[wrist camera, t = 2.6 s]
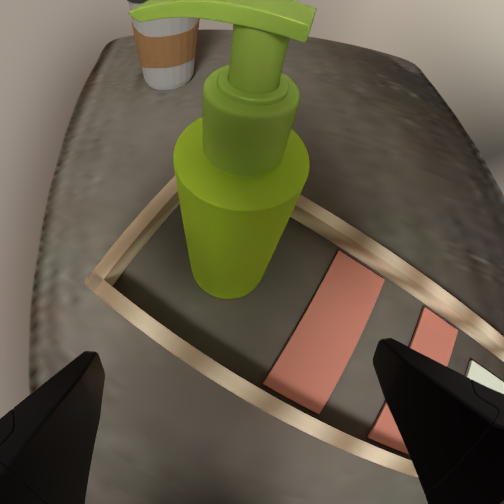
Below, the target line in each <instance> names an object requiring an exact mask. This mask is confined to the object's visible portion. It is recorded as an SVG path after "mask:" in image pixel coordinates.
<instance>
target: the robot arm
mask: <svg viewBox="0 0 504 504" xmlns="http://www.w3.org/2000/svg"><path fill="white" fill-rule="evenodd" d="M373 365H374V368H375V371H376V374H377V377H378V380H379V383H380V386H381V389H382V392H383V395H384V398H385V400H386V403H387V405H388V407H389V409H390V412H391V414H392V416H393V418H394V421H395V423H396V425H397V427H398V430H399V432H400V434H401V437H402V439H403V441H404V444H405V446H406V448H407V451H408V453H409V456H410V458H411V460H412V463H413V465H414V468H415V470H416V473H417V475H418V478H419V480H420V483H421V485H422V488H423V490H424V493H425V495H426V499H427V501H428V504H504V394H502V393H500V392H498V391H495V390H493V389H490V388H488V387H486V386H484V385H482V384H480V383H478V382H476V381H474V380H472V379H471V380H470V378H468V377H466V376H464V375H462V374H460V373H458V372H456V371H454V370H452V369H450V368H448V367H446V366H444V365H443V364H441V363H439V362H437V361H435V360H433V359H431V358H429V357H427V356H425V355H423V354H421V353H419V352H417V351H415V350H413V349H411V348H409V347H408V346H406V345H404V344H402V343H400V342H398V341H396V340H394V339H392V338H386V339H381V340H380V341H379V342H378V345H377V348H376V351H375V354H374V357H373ZM104 380H105V373H104V369H103V366H102V363H101V360H100V357H99V355H98V353H97V352H91V351H85V352H83V353H82V354H81V355H79V356H78V357H77V358H76V359H74V360H73V361H72V362H70V363H69V364H68V365H67V366H65V367H64V368H63V369H62V370H60V371H59V372H58V373H57V374H55V375H54V376H53V377H52V378H50V379H49V380H48V381H46V382H45V383H44V384H43V385H41V386H40V387H39V388H38V389H37V390H35V391H34V392H33V393H32V394H30V395H29V396H28V397H27V398H25V399H24V400H23V401H22V402H20V403H19V404H18V405H17V406H15V407H14V410H13V409H12V410H10V411H9V412H8V413H7V414H6V415H5V416H3V417H2V418H1V419H0V504H85V497H86V490H87V483H88V477H89V471H90V465H91V459H92V454H93V449H94V444H95V439H96V434H97V429H98V425H99V420H100V413H101V403H102V395H103V387H104Z"/></svg>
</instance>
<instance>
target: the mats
mask: <svg viewBox="0 0 504 504" xmlns="http://www.w3.org/2000/svg"><path fill="white" fill-rule="evenodd" d="M384 281H385V280H384V279H383V278H381V277H379V276H378V275H376V274H375V273H373V272H372V271H370V270H369V269H367V268H366V267H364V266H363V265H361V264H360V263H358V262H356V261H355V260H353V259H352V258H350V257H349V256H347V255H345V254H344V253H342V252H341V251H338V252H337V254H336V256H335V258H334V260H333V262H332V264H331V266H330V268H329V269H328V271H327V273H326V275H325V277H324V279H323V281H322V283H321V285H320V286H319V288H318V290H317V292H316V294H315V296H314V297H313V299H312V301H311V303H310V305H309V306H308V308H307V310H306V312H305V314H304V315H303V317H302V319H301V321H300V322H299V324H298V326H297V328H296V329H295V331H294V333H293V334H292V336H291V338H290V340H289V341H288V343H287V345H286V346H285V348H284V350H283V351H282V353H281V355H280V356H279V358H278V360H277V361H276V363H275V365H274V366H273V368H272V369H271V371H270V373H269V374H268V376H267V377H266V379H265V381H264V382H263V384H264V385H266V386H267V387H269V388H271V389H273V390H274V391H276V392H278V393H280V394H281V395H283V396H285V397H287V398H289V399H291V400H292V401H294V402H296V403H298V404H300V405H302V406H304V407H305V408H307V409H309V410H311V411H313V412H315V413H317V414H320V412H321V411H322V409H323V407H324V405H325V404H326V402H327V400H328V398H329V397H330V395H331V393H332V391H333V389H334V388H335V386H336V384H337V382H338V380H339V378H340V376H341V374H342V373H343V371H344V369H345V367H346V365H347V363H348V361H349V359H350V357H351V355H352V353H353V351H354V349H355V347H356V345H357V343H358V340H359V338H360V336H361V334H362V332H363V330H364V328H365V325H366V323H367V321H368V319H369V316H370V314H371V312H372V310H373V307H374V305H375V303H376V300H377V298H378V295H379V293H380V291H381V288H382V286H383V283H384ZM457 333H458V330H457V329H455V328H454V327H452V326H451V325H450V324H448V323H447V322H445V321H444V320H443V319H441V318H440V317H438V316H437V315H435V314H434V313H433V312H431V311H430V310H428V309H427V308H425V307H424V308H423V309H422V312H421V315H420V318H419V321H418V324H417V327H416V330H415V332H414V335H413V338H412V341H411V343H410V346H409V348H411V349H413V350H415V351H417V352H419V353H421V354H423V355H425V356H427V357H429V358H431V359H433V360H435V361H437V362H439V363H441V364H443V365H444V366H446V367H447V365H448V362H449V359H450V356H451V353H452V350H453V346H454V343H455V340H456V336H457ZM367 438H370V439H372V440H374V441H376V442H379V443H381V444H384V445H386V446H388V447H391V448H393V449H396V450H398V451H401V452H403V453H406V454H409V453H408V451H407V448H406V446H405V444H404V441H403V439H402V437H401V434H400V432H399V430H398V427H397V425H396V423H395V421H394V418H393V416H392V414H391V412H390V409H389V407H388V405H387V403H386V401H385V403H384V405H383V407H382V409H381V411H380V413H379V415H378V417H377V419H376V421H375V423H374V425H373V427H372V429H371V431H370V432H369V434H368V436H367Z"/></svg>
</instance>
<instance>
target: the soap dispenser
mask: <svg viewBox="0 0 504 504" xmlns="http://www.w3.org/2000/svg"><path fill="white" fill-rule="evenodd" d="M315 13H316V8H314V7H312V6H309V5H306V4H303V3H300V2H297V1H294V0H147V1H146V2H144V3H143V4H141V5H139V6H138V7H136V8H135V9H133V10H131V11H130V12H129V14H130V15H131V16H132V17H133V18H134V19H135V20H137V21H138V22H145V21H151V20H156V19H164V18H181V17H182V18H200V19H208V20H215V21H221V22H226V23H231V24H233V34H232V44H231V54H230V65H228V66H224V67H222V68H219V69H217V70H215V71H214V72H213V73H211V74H210V75H209V76H208V77H207V78H206V80H205V82H204V86H203V117H201V118H199V119H197V120H196V121H194V122H193V123H191V124H190V125H189V126H188V127H187V128H186V129H185V130H184V131H183V132H182V134H181V135H180V137H179V138H178V140H177V142H176V145H175V148H174V154H173V161H174V169H175V176H176V183H177V189H178V196H179V202H180V208H181V214H182V220H183V226H184V232H185V238H186V243H187V249H188V254H189V259H190V265H191V270H192V274H193V277H194V279H195V281H196V282H197V284H198V285H199V286H200V287H201V288H202V289H203V290H204V291H205V292H207V293H208V294H210V295H212V296H214V297H217V298H221V299H235V298H240V297H242V296H245V295H247V294H248V293H250V292H251V291H253V290H254V289H255V288H256V287H257V285H258V284H259V283H260V281H261V279H262V277H263V275H264V272H265V270H266V268H267V266H268V264H269V262H270V260H271V257H272V255H273V253H274V251H275V249H276V246H277V244H278V242H279V240H280V238H281V236H282V233H283V231H284V229H285V227H286V225H287V222H288V220H289V218H290V216H291V214H292V211H293V209H294V207H295V205H296V202H297V200H298V198H299V196H300V194H301V191H302V189H303V187H304V185H305V182H306V180H307V177H308V174H309V168H310V161H309V155H308V151H307V149H306V147H305V145H304V143H303V141H302V140H301V138H300V137H299V136H298V134H297V133H296V132H295V131H294V130H293V129H292V125H293V122H294V119H295V116H296V112H297V109H298V106H299V102H300V92H299V89H298V87H297V86H296V84H295V83H294V82H293V80H292V79H290V78H289V77H288V76H287V75H285V74H284V73H282V72H281V71H282V67H283V63H284V58H285V54H286V50H287V45H288V41H289V38H292V39H295V40H298V41H301V42H304V43H306V41H307V38H308V34H309V32H310V29H311V26H312V23H313V20H314V16H315Z"/></svg>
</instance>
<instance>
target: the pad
mask: <svg viewBox="0 0 504 504" xmlns="http://www.w3.org/2000/svg"><path fill="white" fill-rule="evenodd" d="M465 376H466V377H468V378H470V380H471V379H472V380H474V381H476V382H478V383H480V384H482V385H484V386H486V387H488V388H490V389H493V390H495V391H498V392H500V393H502V394H504V382H502V381H501V380H500V379H498V378H497V377H495V376H494V375H493V374H491V373H490V372H488V371H487V370H485V369H484V368H483V367H481V366H480V365H478V364H477V363H475V362H474V361H473V360H472V361H470V362H469V365H468V368H467V372H466V375H465Z"/></svg>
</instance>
